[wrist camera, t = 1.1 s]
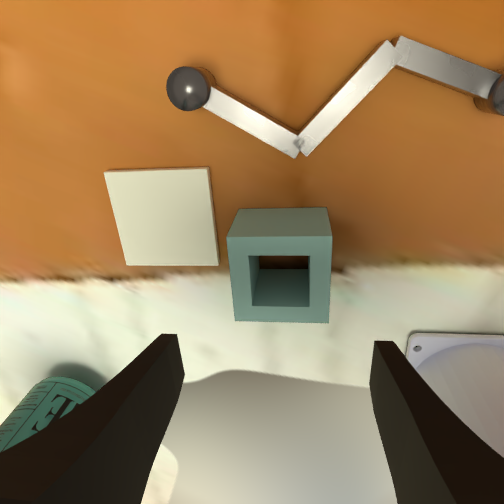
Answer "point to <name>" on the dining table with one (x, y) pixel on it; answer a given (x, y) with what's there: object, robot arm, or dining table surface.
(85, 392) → the beverage bottle
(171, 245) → the coaster
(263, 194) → the dining table surface
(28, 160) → the dining table surface
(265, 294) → the hollow square tube
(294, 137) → the grey zigzag bar
